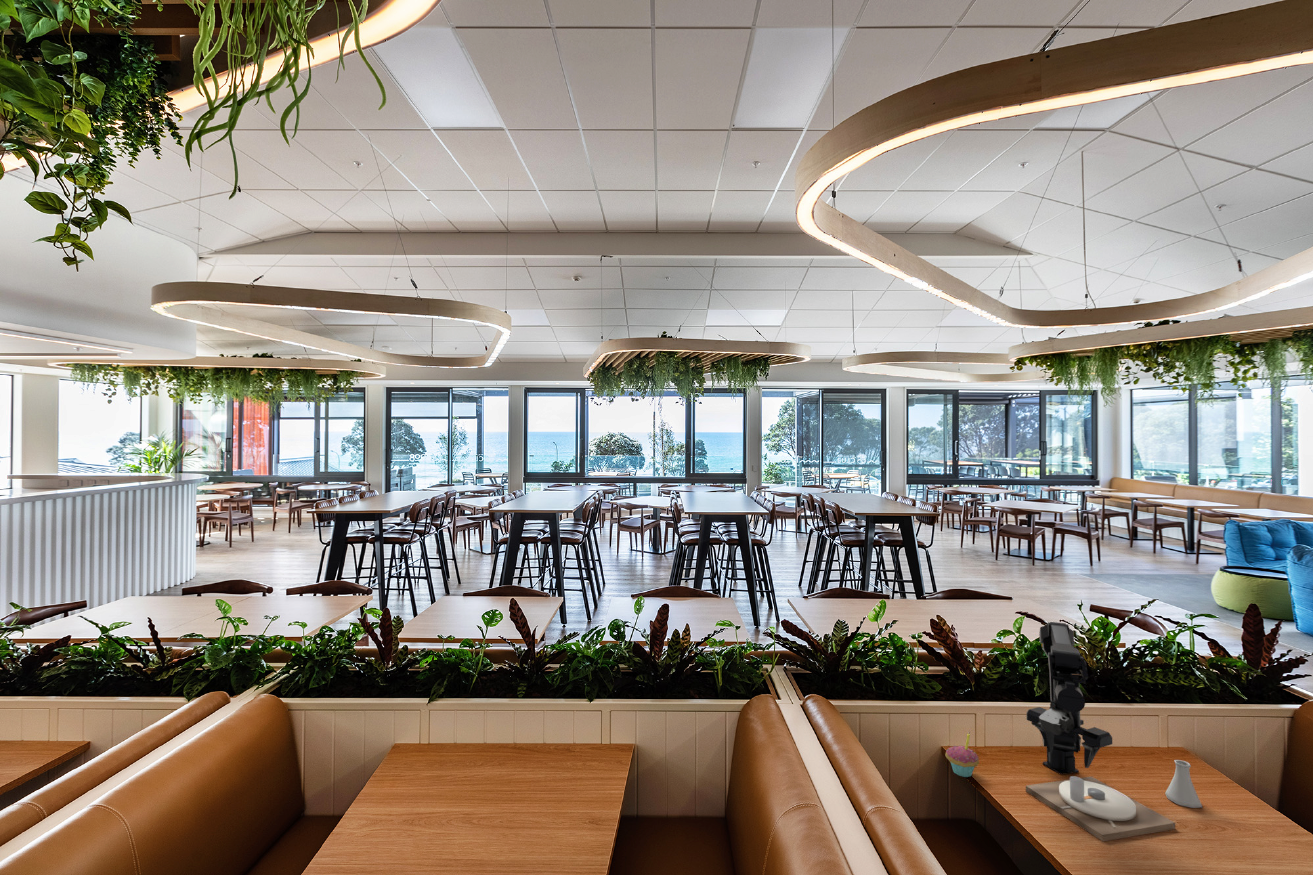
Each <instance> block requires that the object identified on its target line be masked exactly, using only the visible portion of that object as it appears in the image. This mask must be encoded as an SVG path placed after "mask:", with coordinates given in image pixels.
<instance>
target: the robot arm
mask: <svg viewBox="0 0 1313 875" xmlns="http://www.w3.org/2000/svg"><path fill="white" fill-rule="evenodd" d="M1074 633H1075V632H1074V630H1072V628H1070V627H1069V624H1066V623H1064V622H1057V621H1050V622H1049V621H1048V622H1047V624H1045V625H1042V626H1040V627H1039V633H1038V634H1039V635H1038V636H1039V643H1040V644H1042V648H1041V649H1042V651H1044V653H1045V655H1046V657H1047V658H1048V669H1049V686H1050V687H1049V689H1050V690H1049V692H1050V695H1049V696H1050V704H1049V709H1046V708H1043V707H1040V706H1037V707H1034V708H1028V710H1027V711H1026V720H1027V721H1028V722H1031V725H1032V726H1034V727H1035V728H1036V729H1037V730H1039V733H1040V734H1041V736H1042V743H1043V747H1045V748H1046V761H1045V760H1044V761H1042V765H1044V766H1045V767H1048V768H1049V769H1051V770H1053V771H1054V772H1056V773H1058V774H1059V775H1067V774H1074V773H1079V771H1080V770H1079V769H1077V768H1076V756H1075V753H1076V754H1079V752H1080V751H1081V745H1082V747H1083V751H1084V752H1083V755H1084V756H1083V757H1084V758H1083V765H1084V768H1085V769H1088V768H1089V769H1090V766H1091V764H1092V762H1093V761H1094V759H1095V756H1096V755H1097V753H1098V752H1099V750H1100V749H1102V748H1104V747H1108V746H1111V745H1113V736H1112V735H1111V733H1110V732H1109V731H1107V730H1104V729H1101V728H1097V727H1095V726H1094V727H1090V728H1085V727H1082V725H1084V724H1085V723H1084V719H1081V711H1082V710H1084V708H1085V706H1086V700H1085V697H1084V695H1083V692H1082V690H1081V688H1080V684H1086V685H1087V680H1088V679H1089V674H1088V667H1087V661H1085V658H1084V657H1083V656H1081V653H1080V651H1079V649H1078V648H1076V647H1074V645H1075V635H1074ZM1081 739H1082V740H1083V741H1081Z"/></svg>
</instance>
